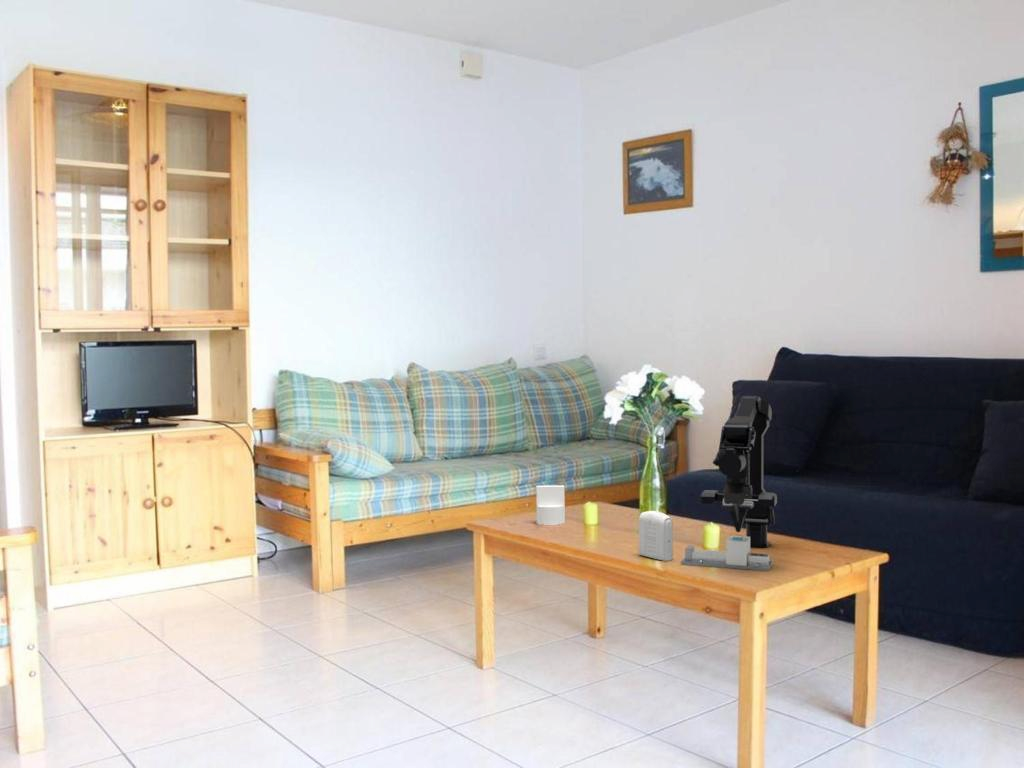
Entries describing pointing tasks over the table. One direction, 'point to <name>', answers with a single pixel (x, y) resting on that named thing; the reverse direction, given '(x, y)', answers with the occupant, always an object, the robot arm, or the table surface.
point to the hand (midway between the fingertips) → (738, 531)
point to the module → (737, 550)
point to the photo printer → (656, 535)
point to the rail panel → (721, 564)
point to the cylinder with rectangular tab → (550, 504)
